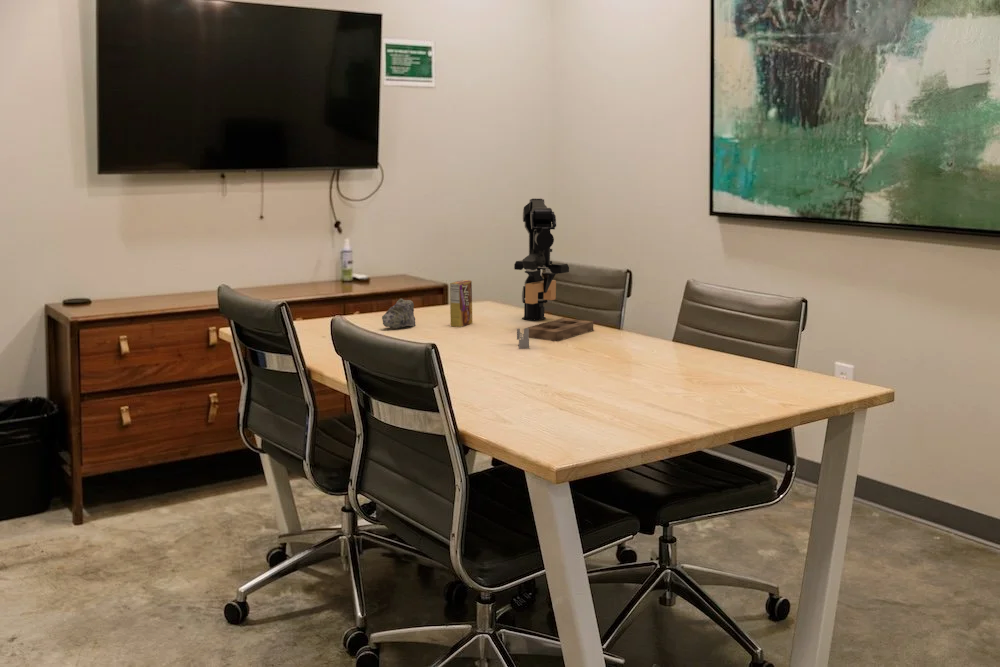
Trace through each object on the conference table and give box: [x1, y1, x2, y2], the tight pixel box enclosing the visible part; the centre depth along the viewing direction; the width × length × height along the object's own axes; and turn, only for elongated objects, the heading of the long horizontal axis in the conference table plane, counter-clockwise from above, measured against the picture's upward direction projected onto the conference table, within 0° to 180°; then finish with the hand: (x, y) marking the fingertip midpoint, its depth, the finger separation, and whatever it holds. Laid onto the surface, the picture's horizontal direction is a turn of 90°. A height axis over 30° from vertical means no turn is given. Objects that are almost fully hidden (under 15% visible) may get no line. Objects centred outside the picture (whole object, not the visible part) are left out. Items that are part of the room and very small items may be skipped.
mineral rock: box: [381, 298, 416, 329], centre depth 353 cm, size 13×11×10 cm
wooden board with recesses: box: [527, 317, 594, 342], centre depth 345 cm, size 12×24×3 cm, turn 146°
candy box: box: [449, 279, 473, 328], centre depth 358 cm, size 9×4×15 cm, turn 152°
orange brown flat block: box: [524, 279, 557, 304], centre depth 346 cm, size 3×14×6 cm, turn 144°
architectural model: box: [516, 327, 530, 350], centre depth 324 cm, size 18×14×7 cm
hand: (540, 292), depth 346 cm, fingers closed on orange brown flat block, 3 cm apart
